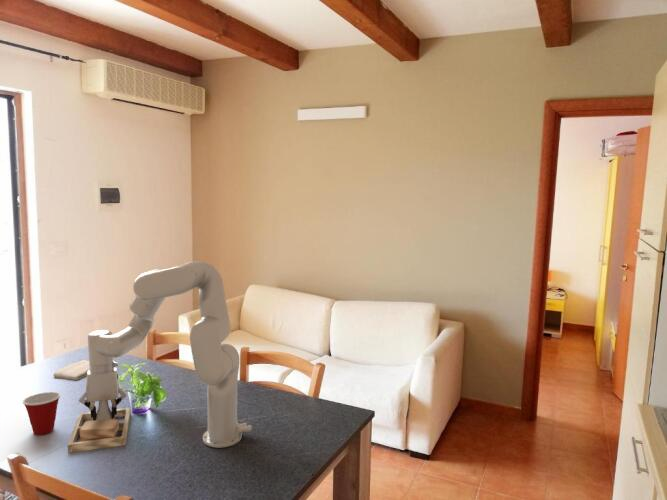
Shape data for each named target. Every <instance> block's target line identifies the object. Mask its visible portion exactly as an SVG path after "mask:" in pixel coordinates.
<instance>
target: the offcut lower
mask: <svg viewBox="0 0 667 500" xmlns="http://www.w3.org/2000/svg"><path fill="white" fill-rule="evenodd" d="M118 434H119V431H117V432H116V434H115V436H114V437H118ZM109 438H113V437H109ZM97 439H105V438H89V439H80V438H79V440H80V441H79V442H81V441H89V440H97Z"/></svg>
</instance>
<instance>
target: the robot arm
mask: <svg viewBox="0 0 667 500" xmlns="http://www.w3.org/2000/svg"><path fill="white" fill-rule="evenodd" d="M132 286H133V292H134V297H133V299H132V300H131V302H130V304H129V310H130V312H131V313H133V317H132V318H131V320H130V322H129V324H128V325H127V326H126V327H125V328H124V329H122V330H119V331H118V332H116V333H112V331H110V330H109V329H98V330H94V331H91V332H90V333H89V334H88V335H87V348H88V351H87V352H88V360H89V371H88V373H87V376H86V379H85V380H86V382H85V391H84V392H83V394H82V395H81V396H80V398H79V399H78V402H79V403H80V404H82V405H84V406H85V407H87V409H89V411H90V412H91V418H93V420H92V421H94V420H96V411H97V406H96V405H95V404H96V402H99V401H104V400H108V401H110V402H111V408H110V410H111V411H112V419H115V418H116V417H115V415H117V409H118V408H117V406H118V405H119V404H120V403H121V402H122V401H123V400H124V399H126V397H127V396H128V395H127V392H126V391H125V390H124V389H122V388H121V387H120V380H119V379H120V378H119V374H118V369H117V367H119V362H118V361H117V362H116V361H115V360H114V359H115V358H120V357H123V356H125V355H126V354H128V353H130V352H131V351H133V350H135V349H137V348H139V346H140V345H142V343H143V342H144V341H145V339H146V337H147V336H148V334H149V333H150V331H151V329H152V328H153V324H154V321H155V320H154V319H155V316H156V314H157V312H158V311H159V309H160V308H161V306H162V304H163V303H164V301H165V300H166V298H171V297H175V296H179V295H183V294H186V293H189V292H190V291H193V290H195V289H197V290H198V300H197V301H198V309H199V314H200V320H198V321H196V322H195V324H193V326H192V328H191V330H190V334H189V343H190V344H189V345H190V349H191V355H192V360H193V361H192V362H193V366H194V370H195V375H196V377H197V378H198V380H199V381H200V382H201V383H202V384H204V385H206V386H207V391H206V392H207V393H206V398H207V401H206V402H207V407H206V408H207V430H206V431H205V432H204V433H203V435H202V442H203V443H204V445H206V446H208V447H211V448H216V449H218V448H220V449H221V448H228V447H231V446H235V445H236V444H238V443H239V442H240V441H241V439H242V438H243V433H246V432H248V433H249V432H252V425H251V424H249V425H247V422H244V423H239V422H238V421H239V420H238V382H239V381H238V380H239V370H240V355H239V352H238V350H237V348H236V347H235V346H233V344H229V343H223V342H224V341H225V340H226V339H227V338H228V337H229V335H230V334H231V329H232V328H231V321H230V316H229V310H228V305H227V304H228V303H227V300H226V299H227V298H226V295H225V294H226V293H225V288H224V282H223V279H222V276H221V273H220V272H219V270H218V269H217V268H216V267H215V266H213V265H212V264H211V263H208V262H206V261H203V260H192V261H189V262H186V263H183V264H180V265H177V266H174V267H170V268H165V269H163V268H156V269H151V270H149V271H146V272H143V273H141V274H139V275H138V276H137V277H136V278H135V280H134V282H133V285H132ZM119 395H120V396H119ZM114 417H115V418H114Z"/></svg>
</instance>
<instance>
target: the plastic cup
mask: <svg viewBox="0 0 667 500" xmlns="http://www.w3.org/2000/svg"><path fill="white" fill-rule="evenodd" d="M60 398H61V393H59V392H57V391H47V392H41V393H37V394H33V395H29V396H28V397H26V398H24V399H23V400H22V404H23V405H24V406H25V409H26V411H27V415H28V420H29V423H30V426H31V429H32V432H33V435H35V436H45V435H47V434H48V435H49V434H50V433H52V432H53V431H54V429H55V422H56V416H57V411H58V404H59V399H60Z"/></svg>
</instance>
